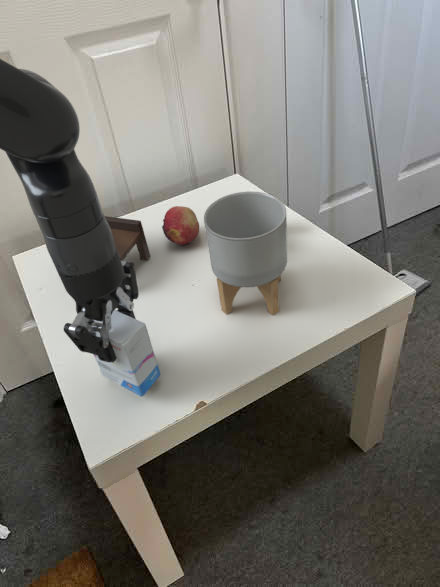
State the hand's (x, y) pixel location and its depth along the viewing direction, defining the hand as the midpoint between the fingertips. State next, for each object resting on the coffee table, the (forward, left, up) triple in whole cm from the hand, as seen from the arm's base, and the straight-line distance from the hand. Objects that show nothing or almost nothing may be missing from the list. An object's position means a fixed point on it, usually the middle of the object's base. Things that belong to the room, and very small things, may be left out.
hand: (119, 343), depth 66 cm
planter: (+23, -12, -10) cm, 28 cm away
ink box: (0, 0, -8) cm, 8 cm away
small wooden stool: (+23, +18, -9) cm, 31 cm away
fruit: (+35, +7, -10) cm, 37 cm away
